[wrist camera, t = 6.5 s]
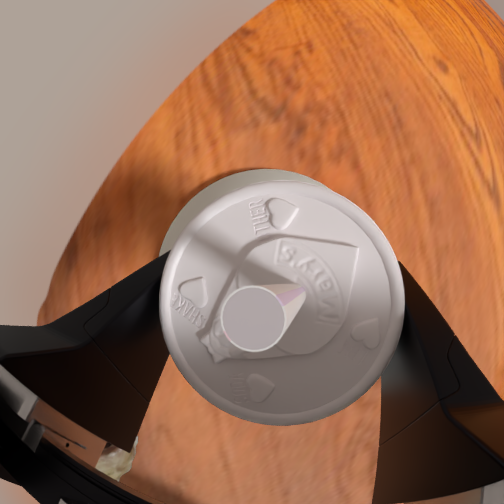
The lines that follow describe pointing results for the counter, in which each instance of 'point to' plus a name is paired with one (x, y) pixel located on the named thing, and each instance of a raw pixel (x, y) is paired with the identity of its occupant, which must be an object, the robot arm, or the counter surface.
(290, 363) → the smoothie
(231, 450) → the counter surface
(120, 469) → the olive hollow round lump
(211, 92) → the counter surface
